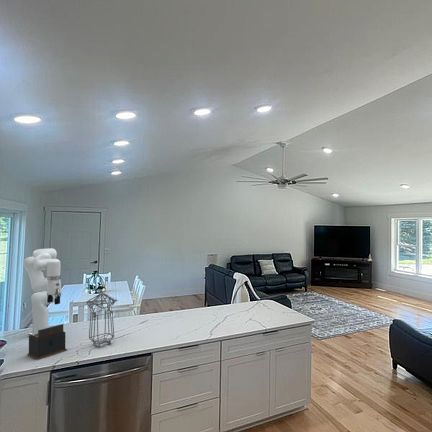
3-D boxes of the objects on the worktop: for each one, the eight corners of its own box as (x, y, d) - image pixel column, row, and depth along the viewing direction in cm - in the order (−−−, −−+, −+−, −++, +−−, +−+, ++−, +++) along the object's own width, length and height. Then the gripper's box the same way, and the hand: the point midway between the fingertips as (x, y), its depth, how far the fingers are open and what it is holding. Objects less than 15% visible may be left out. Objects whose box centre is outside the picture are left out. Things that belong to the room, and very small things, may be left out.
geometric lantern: (93, 350, 215) (93, 297, 215) (84, 344, 225) (85, 293, 226) (118, 343, 227) (118, 292, 227) (109, 338, 237) (109, 289, 238)
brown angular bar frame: (63, 332, 215) (63, 324, 215) (38, 339, 203) (38, 330, 203) (53, 328, 222) (53, 321, 222) (28, 335, 210) (28, 327, 210)
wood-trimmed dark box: (27, 355, 208) (27, 336, 208) (56, 346, 222) (56, 328, 222) (38, 360, 201) (38, 340, 201) (67, 350, 215) (67, 332, 215)
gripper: (66, 278, 225) (66, 303, 225) (53, 276, 233) (53, 300, 233) (54, 280, 218) (54, 306, 218) (41, 277, 227) (41, 302, 227)
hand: (53, 303), depth 226 cm, fingers open, 9 cm apart
